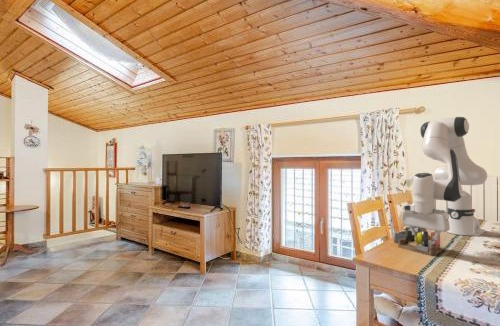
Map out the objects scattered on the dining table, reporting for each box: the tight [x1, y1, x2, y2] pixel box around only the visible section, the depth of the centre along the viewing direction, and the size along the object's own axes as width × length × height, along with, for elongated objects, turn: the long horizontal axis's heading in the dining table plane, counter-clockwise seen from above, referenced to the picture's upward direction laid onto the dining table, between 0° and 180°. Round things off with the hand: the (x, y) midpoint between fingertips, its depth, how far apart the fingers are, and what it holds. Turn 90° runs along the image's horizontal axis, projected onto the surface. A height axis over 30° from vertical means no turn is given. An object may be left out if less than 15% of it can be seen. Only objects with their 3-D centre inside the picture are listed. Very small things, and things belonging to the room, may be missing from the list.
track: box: [397, 238, 438, 257], centre depth 133 cm, size 5×16×4 cm, turn 29°
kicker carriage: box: [416, 230, 441, 252], centre depth 132 cm, size 13×5×9 cm, turn 119°
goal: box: [393, 227, 420, 244], centre depth 147 cm, size 12×7×9 cm, turn 119°
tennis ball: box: [414, 232, 431, 245], centre depth 140 cm, size 7×7×7 cm
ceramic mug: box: [405, 225, 428, 232], centre depth 156 cm, size 11×8×8 cm
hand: (424, 237), depth 130 cm, fingers open, 8 cm apart
